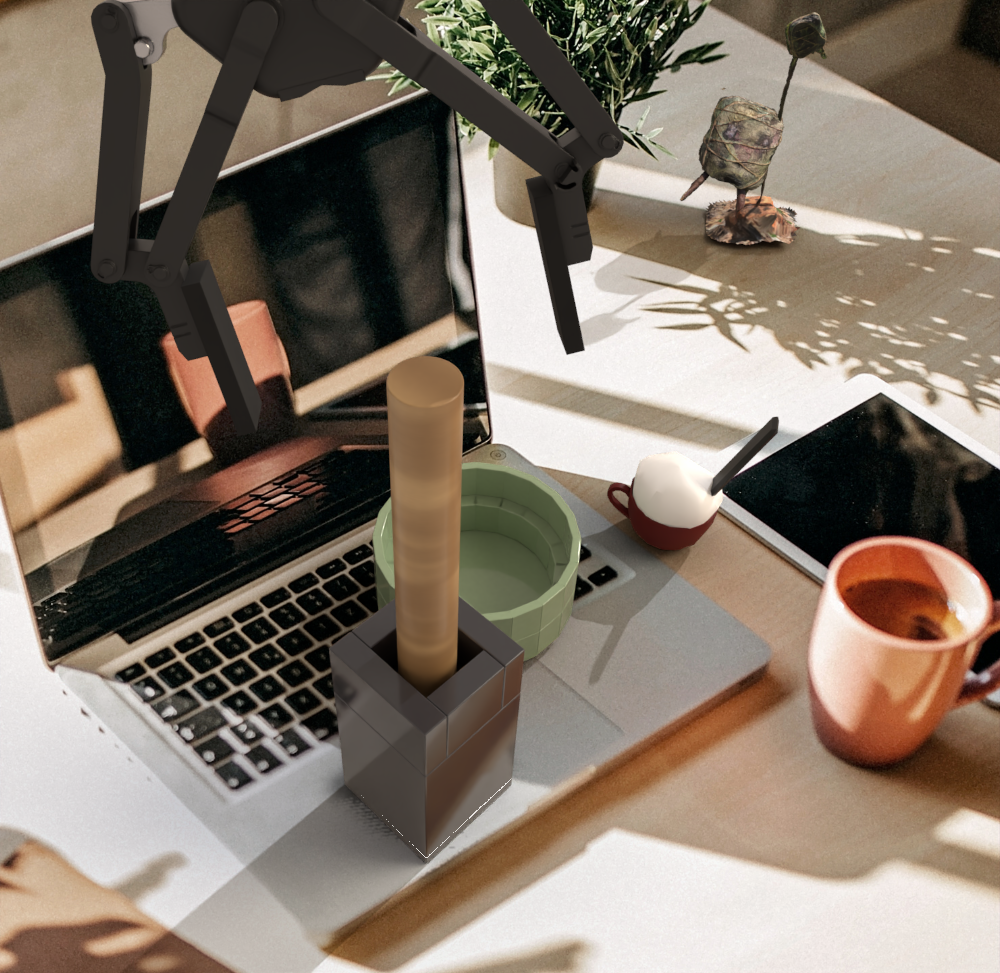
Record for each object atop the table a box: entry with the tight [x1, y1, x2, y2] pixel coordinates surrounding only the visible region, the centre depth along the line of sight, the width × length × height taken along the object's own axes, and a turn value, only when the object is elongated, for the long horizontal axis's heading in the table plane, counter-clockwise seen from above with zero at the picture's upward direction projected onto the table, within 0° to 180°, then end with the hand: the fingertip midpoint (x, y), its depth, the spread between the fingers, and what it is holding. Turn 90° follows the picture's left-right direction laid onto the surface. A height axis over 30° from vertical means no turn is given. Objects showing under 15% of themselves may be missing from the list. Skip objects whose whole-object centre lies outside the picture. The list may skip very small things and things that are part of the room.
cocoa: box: [606, 416, 780, 551], centre depth 78 cm, size 10×6×12 cm, turn 54°
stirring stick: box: [385, 355, 465, 698], centre depth 52 cm, size 3×3×22 cm
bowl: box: [371, 461, 582, 662], centre depth 75 cm, size 13×13×6 cm
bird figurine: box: [679, 11, 828, 246], centre depth 101 cm, size 8×11×20 cm
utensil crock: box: [328, 597, 525, 865], centre depth 63 cm, size 7×7×14 cm
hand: (410, 380), depth 47 cm, fingers open, 13 cm apart
